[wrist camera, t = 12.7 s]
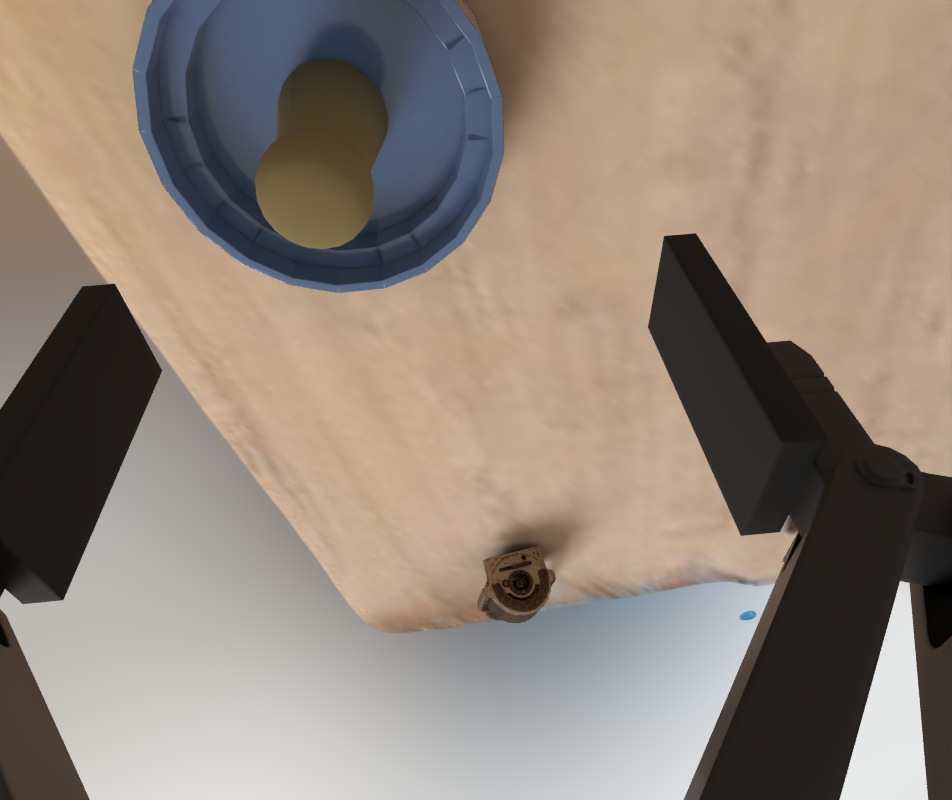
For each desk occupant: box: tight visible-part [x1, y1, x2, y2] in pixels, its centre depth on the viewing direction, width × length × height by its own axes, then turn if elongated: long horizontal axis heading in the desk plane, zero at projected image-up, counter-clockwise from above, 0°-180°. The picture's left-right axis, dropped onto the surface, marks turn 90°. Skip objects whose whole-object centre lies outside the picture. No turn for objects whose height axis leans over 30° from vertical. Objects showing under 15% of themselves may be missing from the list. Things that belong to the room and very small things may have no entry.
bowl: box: [132, 0, 504, 293], centre depth 34 cm, size 18×18×4 cm
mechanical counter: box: [478, 546, 556, 623], centre depth 68 cm, size 7×13×10 cm
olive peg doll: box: [255, 58, 388, 249], centre depth 31 cm, size 6×6×11 cm
